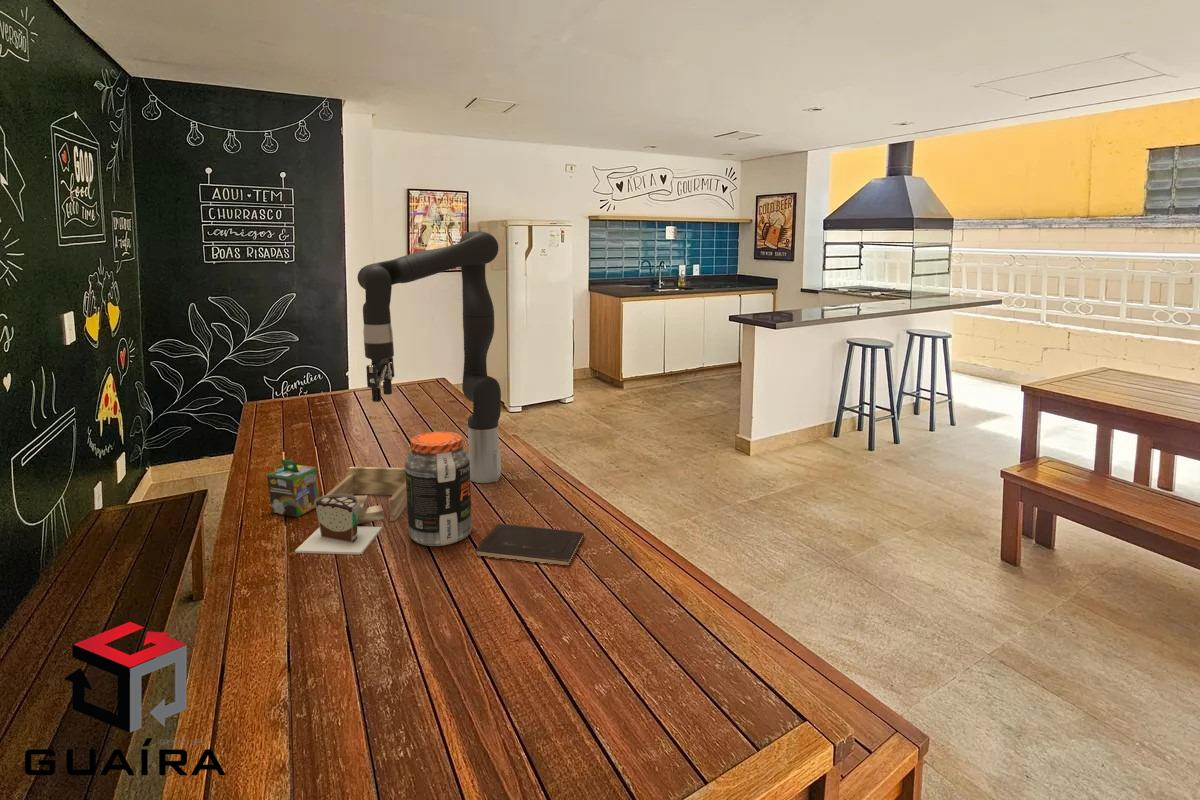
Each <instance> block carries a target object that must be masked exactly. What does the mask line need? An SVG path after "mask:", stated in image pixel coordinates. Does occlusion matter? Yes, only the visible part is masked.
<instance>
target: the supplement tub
mask: <svg viewBox="0 0 1200 800" xmlns="http://www.w3.org/2000/svg"><path fill="white" fill-rule="evenodd" d="M410 450H411V451H409V452H408V454H407V456H406V458H405V462H404V468H405V474H406V492H407V507H406V509H407V510H406V511H407V524H408V533H409V537H410V539H412V540H413V541H414V542H416V543H417V544H420V545H423V546H429V547H441V546H442V547H444V546H448V545H452V544H454V543H457V542H459V541H460V542H461V541H462V540H464V539H466V538H467V537H468V536H469V535H470V533H471V531H472V528H473V525H472V523H473V522H472V495H471V494H472V492H471V491H472V489H471V487H472V486H471V480H470V459H469V453H468V452H467V451H466V450H465V448H464V443H463V436H462V435H461V434H459V433H457V432H454V431H453V432H452V431H430V432H424V433H423V432H422V433H419V434H417V435H415V436H413V437H412V438H411V439H410Z"/></svg>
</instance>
